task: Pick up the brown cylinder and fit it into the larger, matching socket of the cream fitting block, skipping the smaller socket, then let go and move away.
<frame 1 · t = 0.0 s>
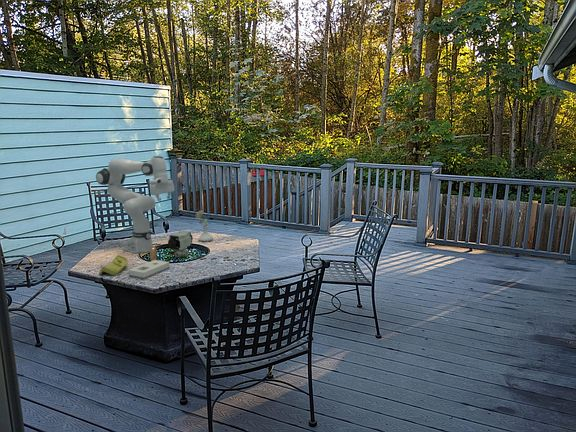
hand: (164, 199, 296), 39 cm above the table, tool pointing down, fingers open, 8 cm apart
flower in vase: (204, 241, 338), on the table
plastic component: (115, 271, 269), on the table
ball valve: (182, 256, 298), on the table
brown cylinder: (153, 262, 285), on the table
fitting block: (149, 272, 266), on the table
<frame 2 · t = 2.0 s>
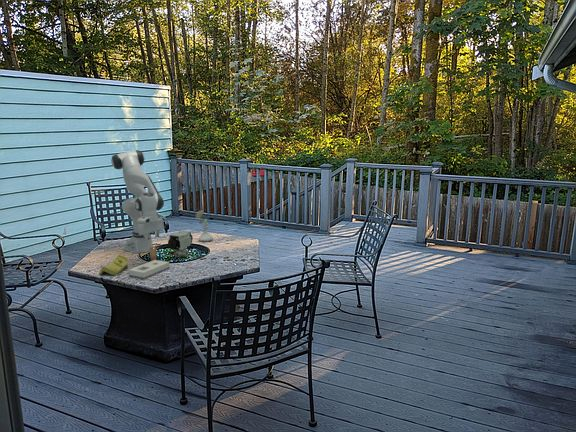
hand: (152, 238, 281), 16 cm above the table, tool pointing down, fingers open, 8 cm apart
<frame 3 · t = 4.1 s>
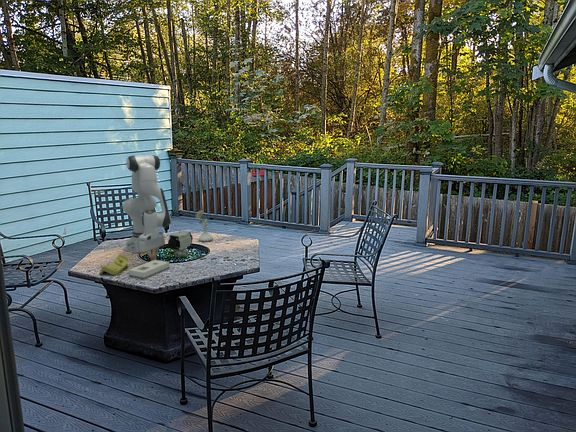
hand: (153, 254, 284), 5 cm above the table, tool pointing down, fingers closed on brown cylinder, 4 cm apart
brown cylinder: (153, 262, 285), on the table, touching gripper
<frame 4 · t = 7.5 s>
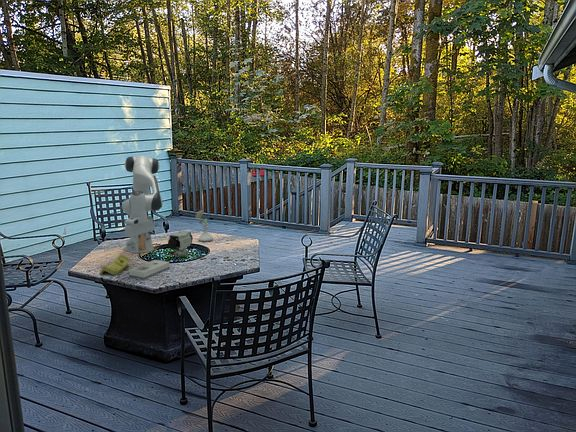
hand: (141, 241, 257), 21 cm above the table, tool pointing down, fingers closed on brown cylinder, 4 cm apart
brown cylinder: (142, 249, 258), point 16 cm above the table, touching gripper
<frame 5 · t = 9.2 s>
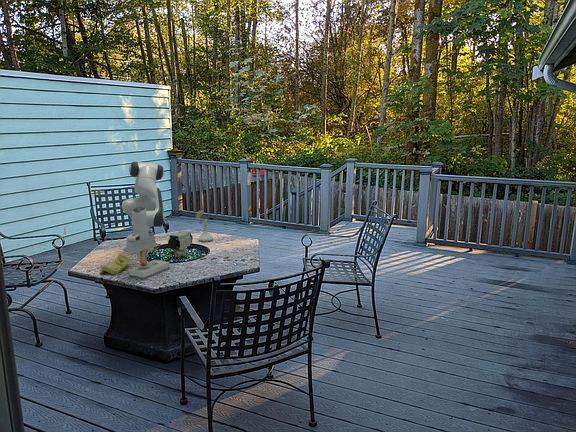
hand: (142, 257, 259), 11 cm above the table, tool pointing down, fingers closed on brown cylinder, 4 cm apart
brown cylinder: (143, 265, 260), point 6 cm above the table, touching gripper
when the fingers open (7 cm above the table, at t = 10.9 s): brown cylinder stays where it is, resting on fitting block.
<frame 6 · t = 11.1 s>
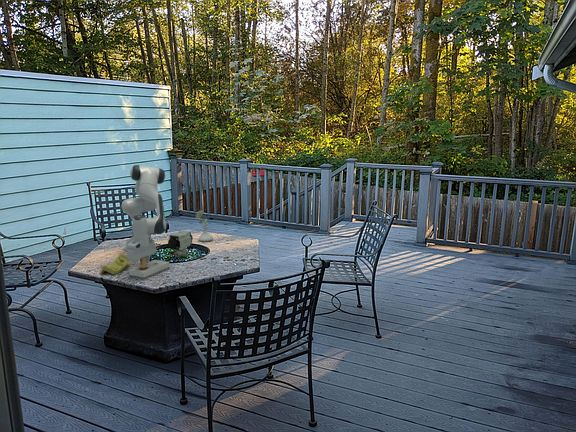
hand: (143, 264, 260), 7 cm above the table, tool pointing down, fingers open, 6 cm apart
brown cylinder: (143, 273, 261), point 1 cm above the table, touching fitting block
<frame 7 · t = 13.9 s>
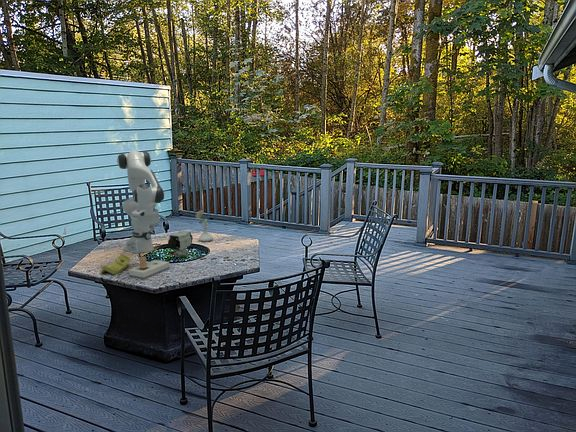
hand: (146, 232, 266), 24 cm above the table, tool pointing down, fingers open, 8 cm apart
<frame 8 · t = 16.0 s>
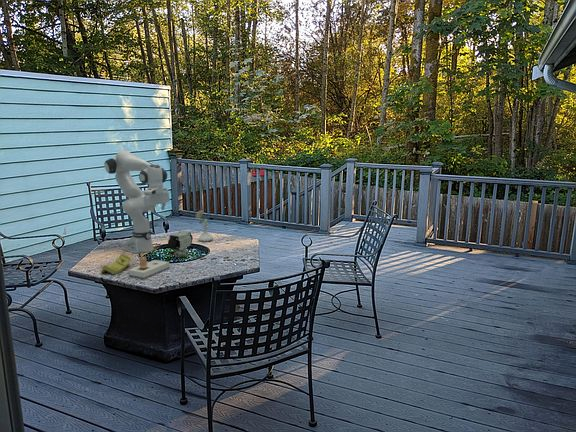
hand: (157, 210, 281), 34 cm above the table, tool pointing down, fingers open, 8 cm apart
at the end: brown cylinder 0.1 cm from the target spot on the fitting block, point 1.0 cm above the fitting block's base; brown cylinder tilted 1°; the gripper is holding nothing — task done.
